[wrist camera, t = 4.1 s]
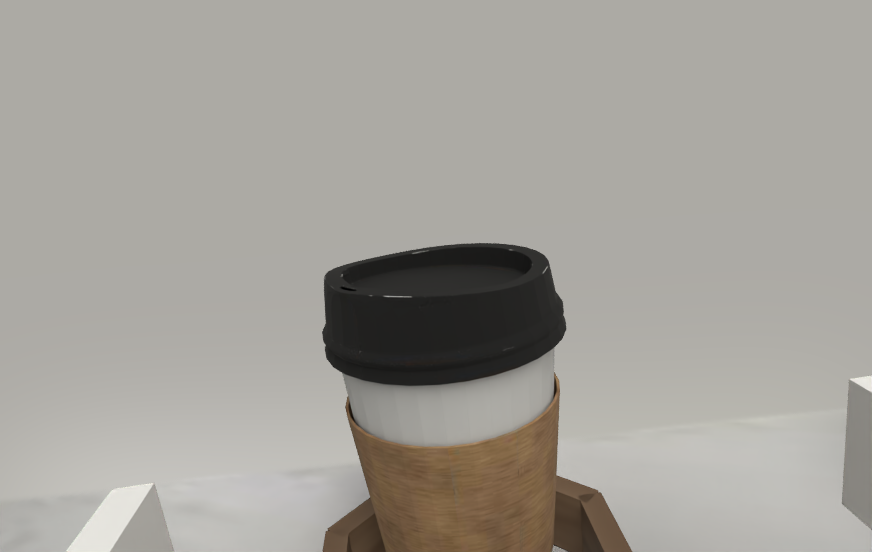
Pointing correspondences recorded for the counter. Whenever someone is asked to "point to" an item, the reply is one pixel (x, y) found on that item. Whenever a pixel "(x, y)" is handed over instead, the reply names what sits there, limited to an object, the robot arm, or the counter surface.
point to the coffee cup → (452, 393)
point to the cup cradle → (573, 525)
